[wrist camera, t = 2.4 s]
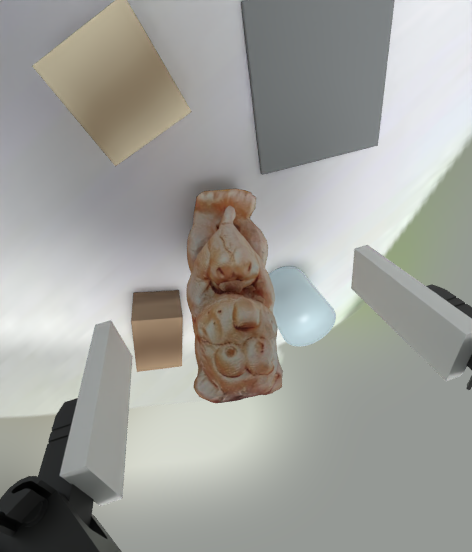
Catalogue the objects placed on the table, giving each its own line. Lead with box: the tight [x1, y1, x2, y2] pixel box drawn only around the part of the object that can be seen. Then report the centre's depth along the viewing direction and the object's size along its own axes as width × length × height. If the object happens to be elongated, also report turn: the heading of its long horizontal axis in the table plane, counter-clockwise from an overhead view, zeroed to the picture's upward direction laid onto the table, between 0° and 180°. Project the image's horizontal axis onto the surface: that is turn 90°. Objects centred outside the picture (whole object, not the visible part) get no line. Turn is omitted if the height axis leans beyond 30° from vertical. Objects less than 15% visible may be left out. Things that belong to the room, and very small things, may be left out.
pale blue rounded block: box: [269, 266, 336, 346], centre depth 27 cm, size 5×5×6 cm
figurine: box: [187, 189, 283, 403], centre depth 18 cm, size 6×8×15 cm
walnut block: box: [131, 290, 183, 372], centre depth 26 cm, size 6×4×4 cm, turn 174°
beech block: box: [32, 0, 191, 166], centre depth 16 cm, size 5×5×5 cm
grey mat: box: [241, 0, 394, 175], centre depth 20 cm, size 10×10×1 cm
